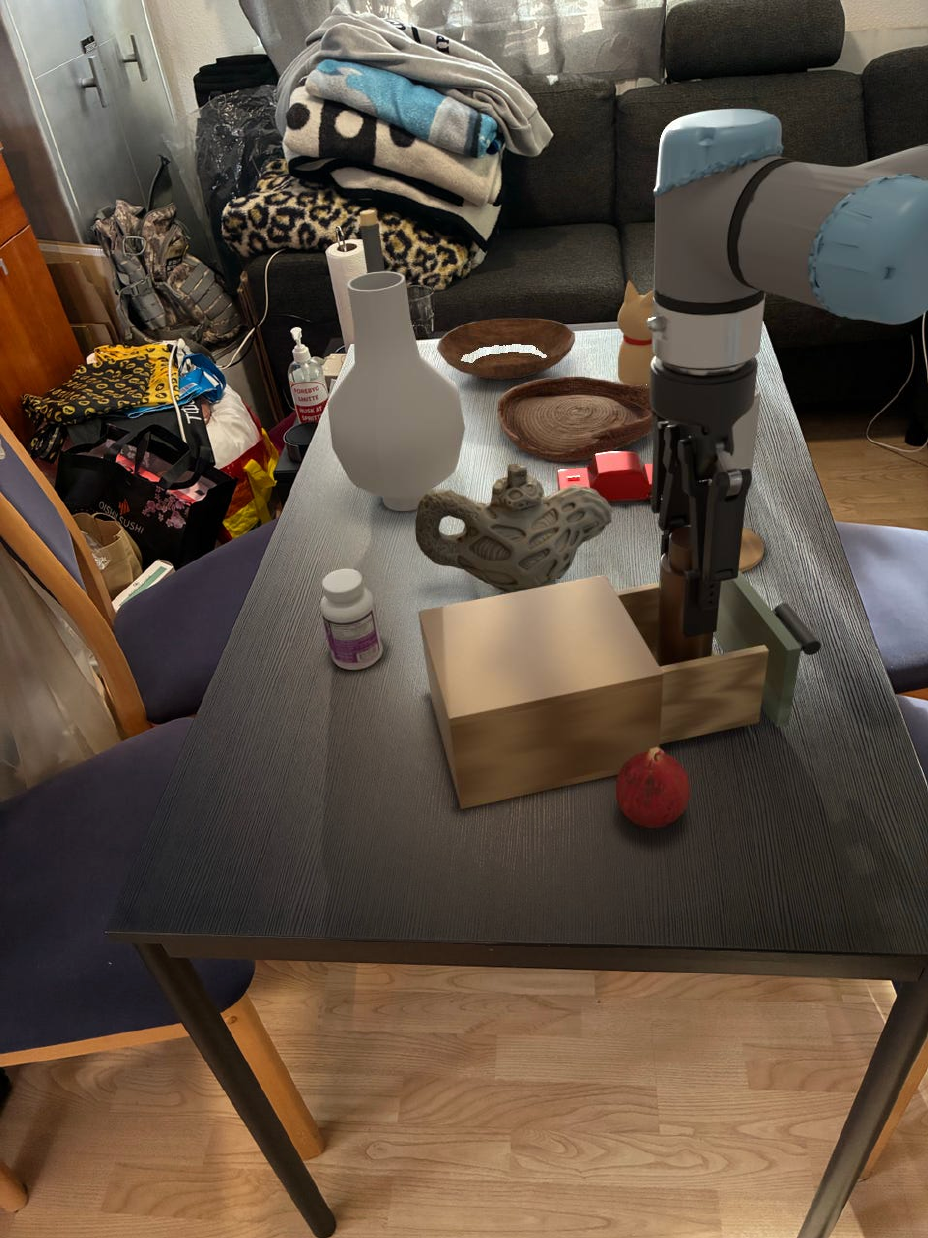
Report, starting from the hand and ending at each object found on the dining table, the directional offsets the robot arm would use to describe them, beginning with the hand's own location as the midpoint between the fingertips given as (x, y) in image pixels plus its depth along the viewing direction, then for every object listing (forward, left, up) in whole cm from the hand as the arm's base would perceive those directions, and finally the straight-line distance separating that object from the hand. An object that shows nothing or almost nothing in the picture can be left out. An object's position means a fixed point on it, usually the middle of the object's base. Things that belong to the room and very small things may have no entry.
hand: (686, 612), depth 82 cm
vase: (+46, +19, -10) cm, 51 cm away
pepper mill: (0, 0, -8) cm, 8 cm away
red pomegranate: (-13, +8, -10) cm, 18 cm away
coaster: (+22, -13, -10) cm, 28 cm away
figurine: (+68, -22, -10) cm, 72 cm away
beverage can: (+36, -21, -10) cm, 43 cm away
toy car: (+37, -6, -10) cm, 39 cm away
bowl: (+81, -3, -10) cm, 82 cm away
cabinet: (0, +14, -10) cm, 17 cm away
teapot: (+23, +10, -10) cm, 27 cm away
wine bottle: (+68, +17, -10) cm, 71 cm away
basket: (+56, -7, -10) cm, 58 cm away
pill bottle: (+16, +29, -10) cm, 35 cm away
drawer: (0, -1, -9) cm, 9 cm away
